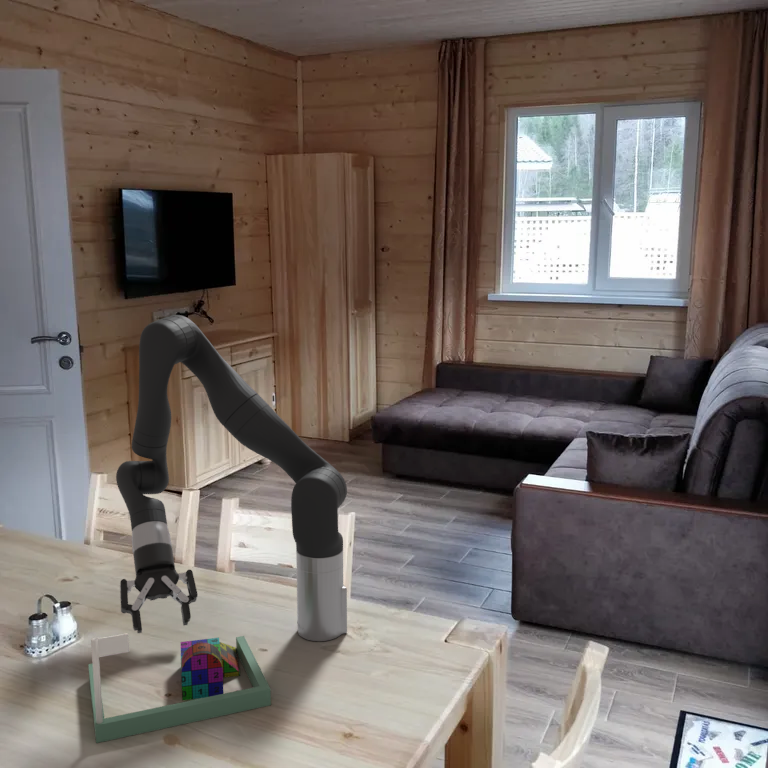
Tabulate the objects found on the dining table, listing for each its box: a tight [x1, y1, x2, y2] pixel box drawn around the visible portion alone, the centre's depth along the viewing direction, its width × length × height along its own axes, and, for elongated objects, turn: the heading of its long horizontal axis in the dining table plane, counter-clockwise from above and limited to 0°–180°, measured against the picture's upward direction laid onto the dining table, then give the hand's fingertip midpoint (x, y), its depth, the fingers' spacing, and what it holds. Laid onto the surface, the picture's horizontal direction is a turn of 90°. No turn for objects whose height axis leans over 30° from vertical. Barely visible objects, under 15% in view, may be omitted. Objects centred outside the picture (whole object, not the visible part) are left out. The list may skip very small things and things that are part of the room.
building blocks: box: [180, 637, 241, 702], centre depth 148 cm, size 15×10×8 cm
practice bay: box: [88, 632, 272, 744], centre depth 141 cm, size 28×20×17 cm
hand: (163, 627), depth 156 cm, fingers open, 8 cm apart
